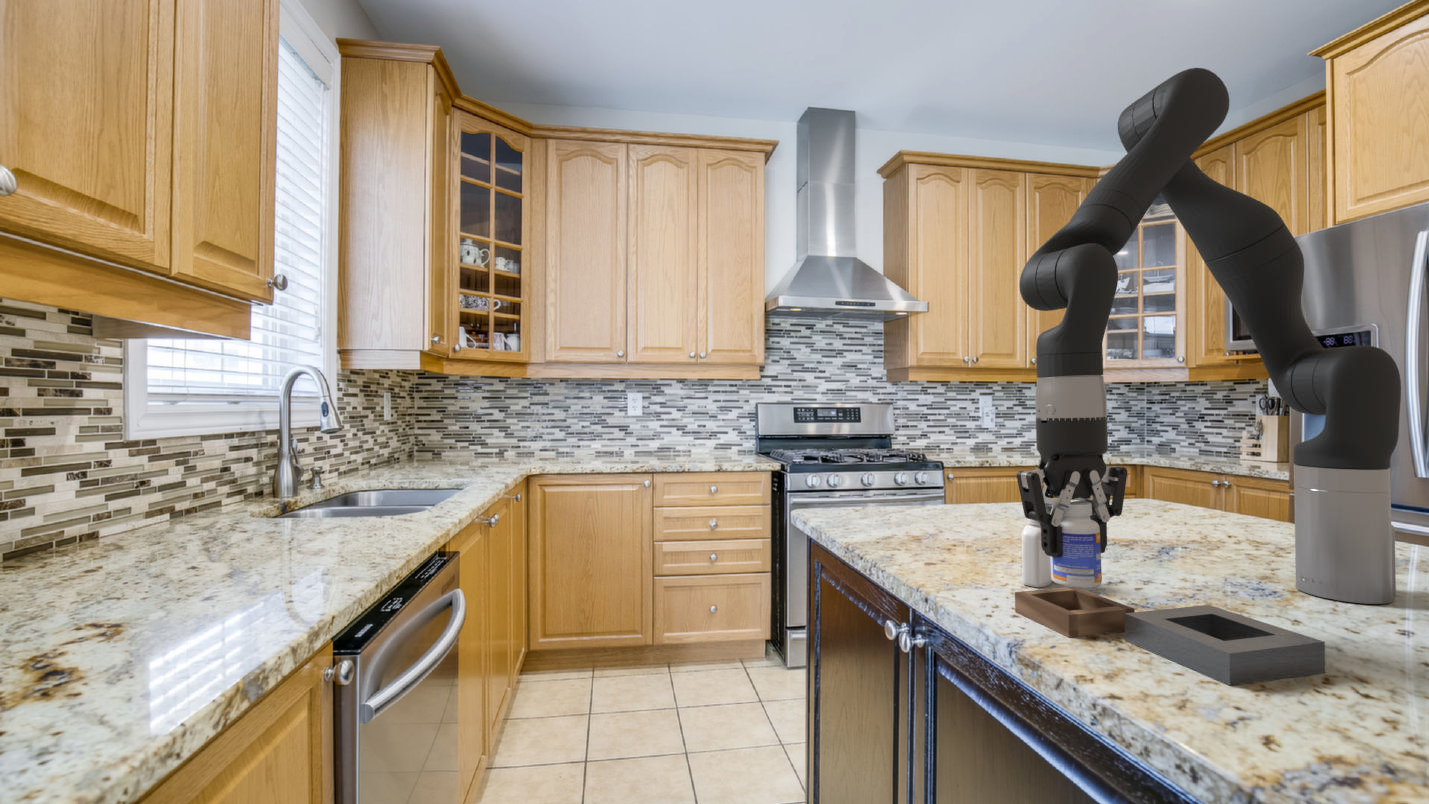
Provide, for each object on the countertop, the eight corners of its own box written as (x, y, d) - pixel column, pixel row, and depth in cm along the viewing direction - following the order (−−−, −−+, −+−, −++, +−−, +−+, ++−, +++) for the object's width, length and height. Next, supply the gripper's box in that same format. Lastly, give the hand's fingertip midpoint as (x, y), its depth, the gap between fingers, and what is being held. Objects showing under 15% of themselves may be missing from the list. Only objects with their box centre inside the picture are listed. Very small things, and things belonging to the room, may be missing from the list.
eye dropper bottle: (1064, 585, 90) (1063, 502, 90) (1032, 589, 89) (1031, 504, 89) (1040, 577, 95) (1039, 497, 95) (1010, 580, 93) (1008, 500, 93)
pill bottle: (1109, 589, 73) (1107, 506, 73) (1059, 588, 74) (1056, 505, 74) (1091, 576, 78) (1089, 498, 78) (1044, 575, 79) (1042, 498, 79)
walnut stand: (1075, 605, 81) (1075, 586, 81) (1134, 630, 73) (1134, 608, 73) (1015, 611, 80) (1014, 591, 80) (1068, 637, 71) (1068, 615, 71)
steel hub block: (1208, 630, 72) (1208, 604, 72) (1325, 672, 61) (1324, 641, 61) (1124, 640, 70) (1124, 613, 70) (1230, 685, 58) (1229, 653, 58)
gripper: (1095, 412, 81) (1099, 543, 81) (998, 415, 78) (1001, 551, 78) (1147, 412, 74) (1151, 556, 74) (1041, 416, 71) (1046, 566, 71)
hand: (1074, 553), depth 76 cm, fingers closed on pill bottle, 5 cm apart
